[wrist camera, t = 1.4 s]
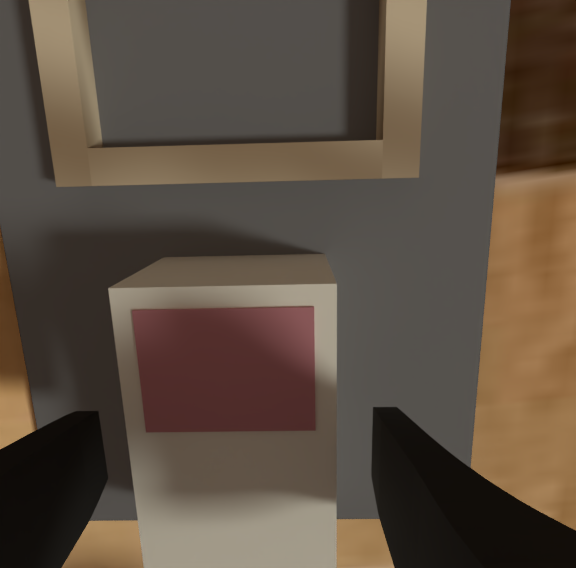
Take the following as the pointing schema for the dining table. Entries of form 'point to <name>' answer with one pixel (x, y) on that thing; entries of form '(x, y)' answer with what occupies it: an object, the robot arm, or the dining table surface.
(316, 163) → the frame
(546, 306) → the dining table surface
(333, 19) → the mat
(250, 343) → the card box
